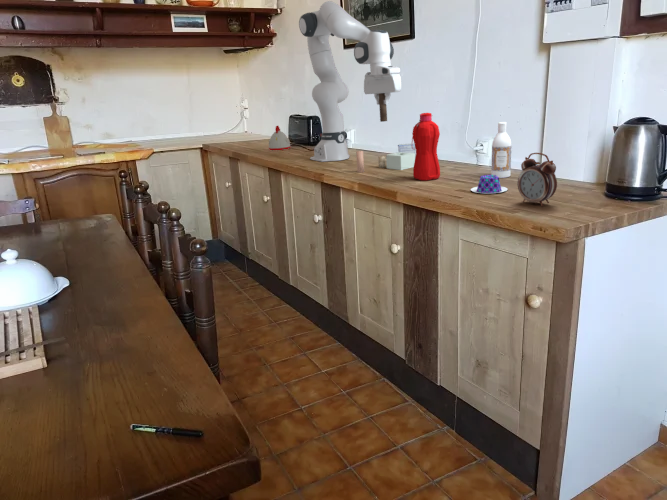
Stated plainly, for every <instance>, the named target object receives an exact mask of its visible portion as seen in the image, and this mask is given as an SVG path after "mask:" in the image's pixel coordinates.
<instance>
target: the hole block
mask: <svg viewBox="0 0 667 500" xmlns="http://www.w3.org/2000/svg"><path fill="white" fill-rule="evenodd" d="M385 155H386V156H385V165H386V169H388V170H389V169H390V170H397V171H403V170H407V169H410V168H414V162H415V153H405V152H399V151H398V152H395V153H388V154H385Z"/></svg>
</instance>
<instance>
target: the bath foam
mask: <svg viewBox="0 0 667 500" xmlns="http://www.w3.org/2000/svg"><path fill="white" fill-rule="evenodd" d="M512 147H513V146H512V140H511V137H510V136H509V134H508V133H507V121H500V122H498V123H497V133H496V135H495V137H494V138H493V140H492V144H491V167H490V168H491V170H490V171H491V173H490V175H496V176H498V177H499V179H503V178H504V179H505V178H510V176H511V169H512Z"/></svg>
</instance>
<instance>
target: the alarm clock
mask: <svg viewBox="0 0 667 500" xmlns="http://www.w3.org/2000/svg"><path fill="white" fill-rule="evenodd" d="M533 155H541V156H544V157H545V158H546V160H545V161H543V162H541V163H540V161H536V160H535V159H534V158H530V157H531V156H533ZM553 162H554V160H550V158H549V156H548V155H547V154H545V153H541V152H533V153H530V154H529V155H528V156H525V158H524V160H523V161H522V163H521V164H520V165H521V166H520V167H521V172H520V173H519V176H518V178H517V189H518V192H519V194H520V196H521V197H522V198H523V201H522V203H523V204H524V203H525V201H527V202H529V203H540V205H541V207H544V204H543V202H545V201H546V202H547V204H549V203H550V202H549V199H550V198H551V197H553V196H554V195H555V193H556V191H557V188H558V180H557V176H556V174H555V173H556V170H557V166H556V164H555V163H553Z"/></svg>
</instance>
